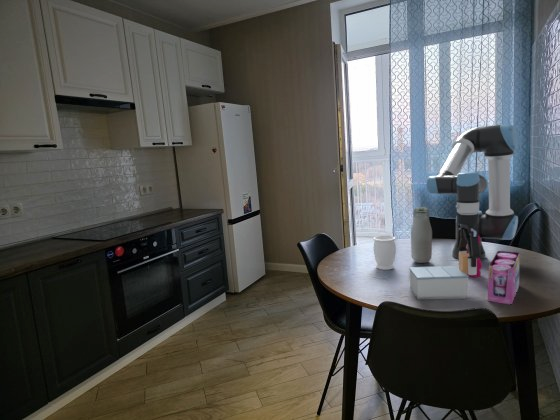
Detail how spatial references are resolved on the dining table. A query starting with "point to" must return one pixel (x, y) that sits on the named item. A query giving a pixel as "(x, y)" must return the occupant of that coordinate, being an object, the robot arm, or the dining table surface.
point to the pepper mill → (479, 264)
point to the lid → (443, 270)
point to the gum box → (503, 277)
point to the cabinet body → (439, 288)
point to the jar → (384, 252)
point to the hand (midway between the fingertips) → (467, 270)
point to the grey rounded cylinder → (421, 236)
